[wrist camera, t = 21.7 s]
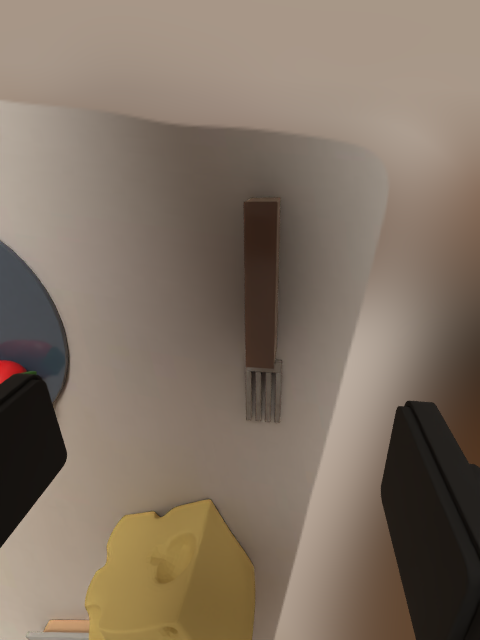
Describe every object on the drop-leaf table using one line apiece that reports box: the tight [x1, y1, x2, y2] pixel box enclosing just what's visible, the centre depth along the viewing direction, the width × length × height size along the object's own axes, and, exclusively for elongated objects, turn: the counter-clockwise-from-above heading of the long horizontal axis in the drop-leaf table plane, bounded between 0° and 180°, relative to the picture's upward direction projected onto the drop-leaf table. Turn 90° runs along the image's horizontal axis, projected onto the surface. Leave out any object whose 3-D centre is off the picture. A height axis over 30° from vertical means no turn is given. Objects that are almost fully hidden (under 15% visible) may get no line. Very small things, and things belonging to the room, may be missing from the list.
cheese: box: [85, 499, 255, 640], centre depth 30 cm, size 10×11×10 cm
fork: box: [244, 198, 282, 423], centre depth 23 cm, size 3×16×3 cm, turn 1°
